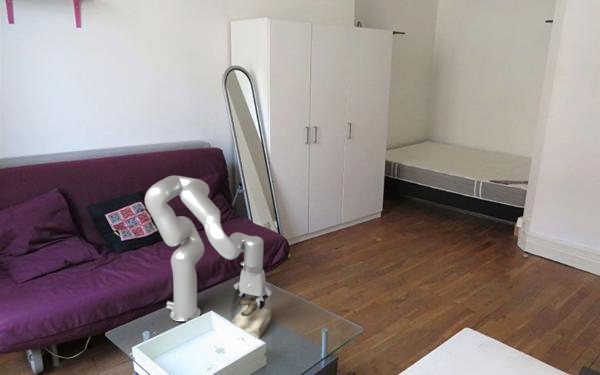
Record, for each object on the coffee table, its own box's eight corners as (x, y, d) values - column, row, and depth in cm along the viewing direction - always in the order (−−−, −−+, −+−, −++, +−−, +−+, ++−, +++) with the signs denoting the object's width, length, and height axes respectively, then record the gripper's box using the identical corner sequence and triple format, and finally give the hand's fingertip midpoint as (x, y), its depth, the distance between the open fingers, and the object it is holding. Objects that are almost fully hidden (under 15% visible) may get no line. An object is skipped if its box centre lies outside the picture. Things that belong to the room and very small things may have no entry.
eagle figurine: (246, 299, 197) (232, 305, 189) (255, 289, 194) (242, 294, 186) (257, 314, 194) (243, 320, 186) (266, 303, 191) (253, 309, 184)
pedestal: (230, 332, 190) (231, 321, 188) (244, 314, 203) (245, 304, 201) (258, 338, 186) (258, 328, 185) (270, 320, 199) (271, 310, 198)
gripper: (229, 266, 185) (228, 306, 191) (270, 275, 181) (268, 314, 186) (237, 259, 192) (236, 297, 197) (276, 266, 188) (275, 305, 193)
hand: (252, 305), depth 192 cm, fingers closed on eagle figurine, 7 cm apart
